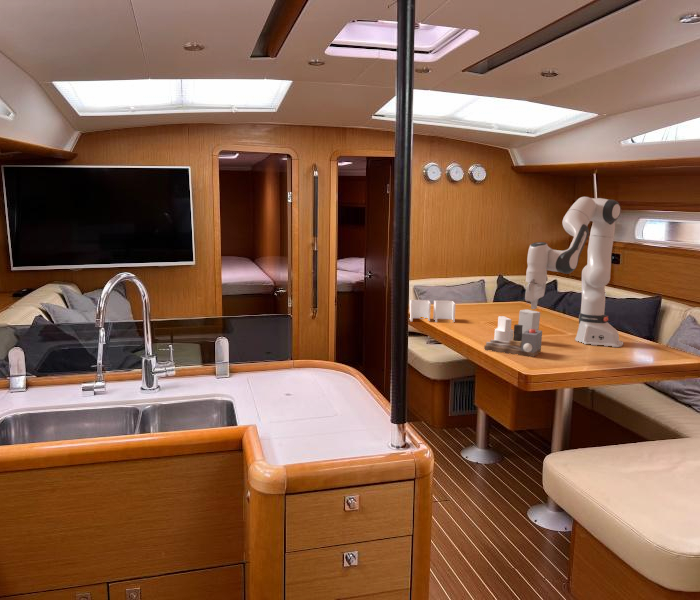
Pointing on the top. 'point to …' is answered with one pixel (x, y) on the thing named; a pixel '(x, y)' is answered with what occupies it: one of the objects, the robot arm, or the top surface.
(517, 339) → the carriage
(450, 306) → the white slotted rack
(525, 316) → the skincare box
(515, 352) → the rail board
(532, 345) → the end cabinet
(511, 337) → the base with upright slab
